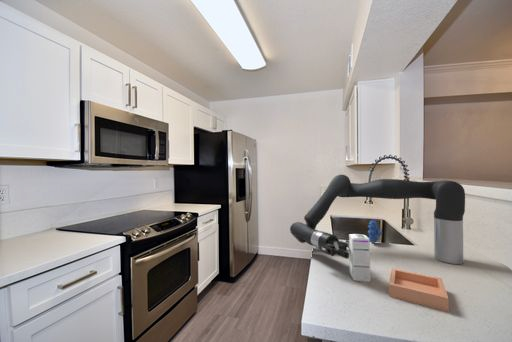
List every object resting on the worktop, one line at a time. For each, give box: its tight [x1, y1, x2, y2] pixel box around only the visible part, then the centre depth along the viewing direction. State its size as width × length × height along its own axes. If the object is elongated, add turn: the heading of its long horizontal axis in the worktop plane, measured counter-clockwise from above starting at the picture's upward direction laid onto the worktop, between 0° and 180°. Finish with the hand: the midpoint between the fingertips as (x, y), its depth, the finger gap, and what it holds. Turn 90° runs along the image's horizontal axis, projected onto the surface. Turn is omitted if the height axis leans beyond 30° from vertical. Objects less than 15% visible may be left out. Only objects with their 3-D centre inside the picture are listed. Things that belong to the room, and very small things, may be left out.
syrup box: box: [348, 233, 372, 283], centre depth 78 cm, size 6×6×14 cm
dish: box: [388, 268, 450, 313], centre depth 68 cm, size 13×13×4 cm
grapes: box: [367, 220, 383, 244], centre depth 116 cm, size 12×7×12 cm, turn 138°
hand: (356, 253), depth 79 cm, fingers open, 8 cm apart
